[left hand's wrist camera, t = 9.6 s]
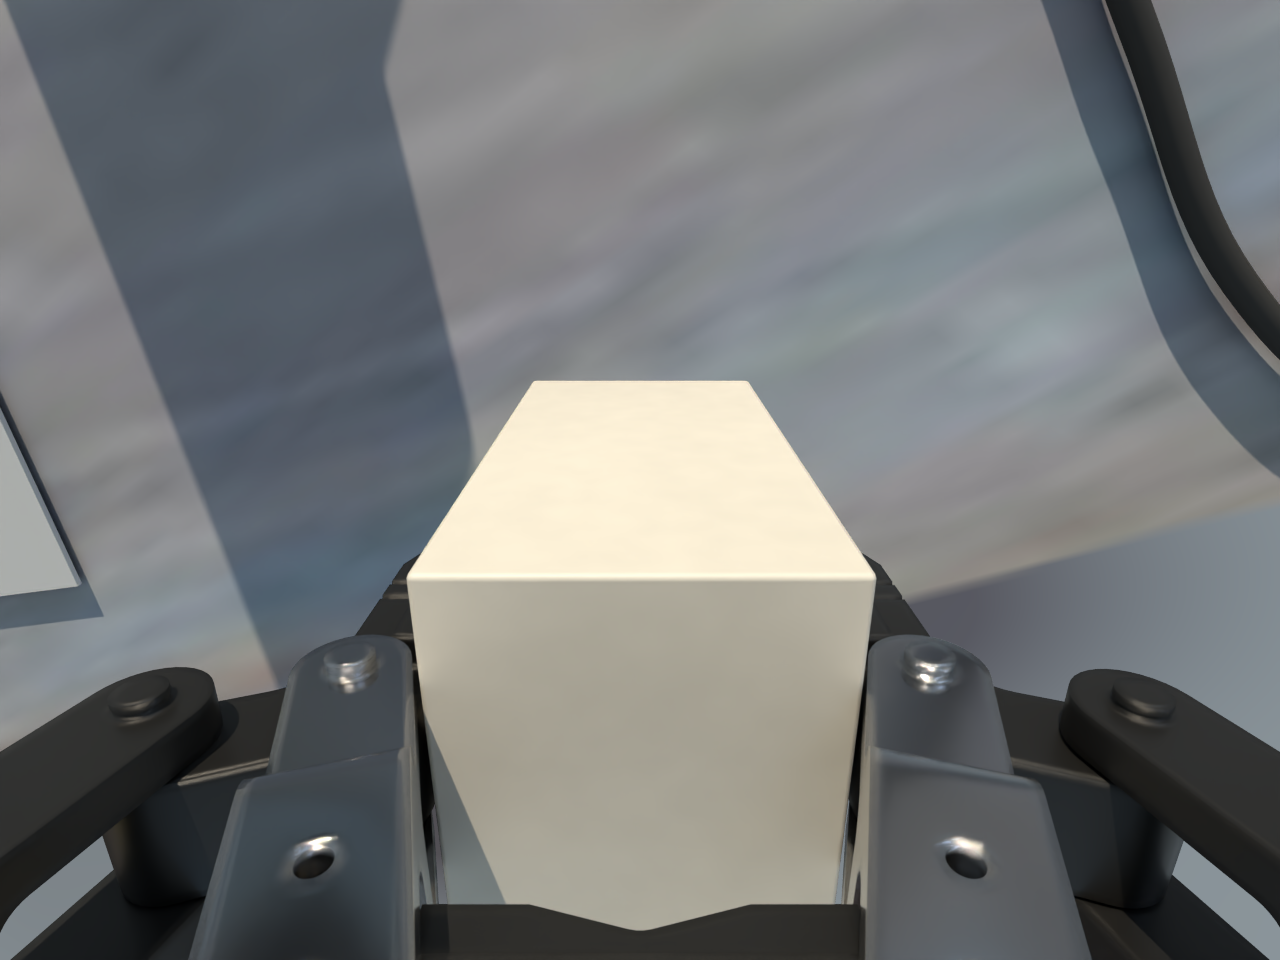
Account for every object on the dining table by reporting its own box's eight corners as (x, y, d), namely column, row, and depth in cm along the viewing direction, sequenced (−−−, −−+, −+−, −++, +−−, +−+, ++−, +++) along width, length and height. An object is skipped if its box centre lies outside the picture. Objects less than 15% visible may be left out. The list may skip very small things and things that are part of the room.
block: (749, 380, 15) (879, 575, 7) (737, 601, 17) (828, 966, 8) (532, 380, 15) (403, 575, 7) (544, 601, 17) (452, 967, 8)
